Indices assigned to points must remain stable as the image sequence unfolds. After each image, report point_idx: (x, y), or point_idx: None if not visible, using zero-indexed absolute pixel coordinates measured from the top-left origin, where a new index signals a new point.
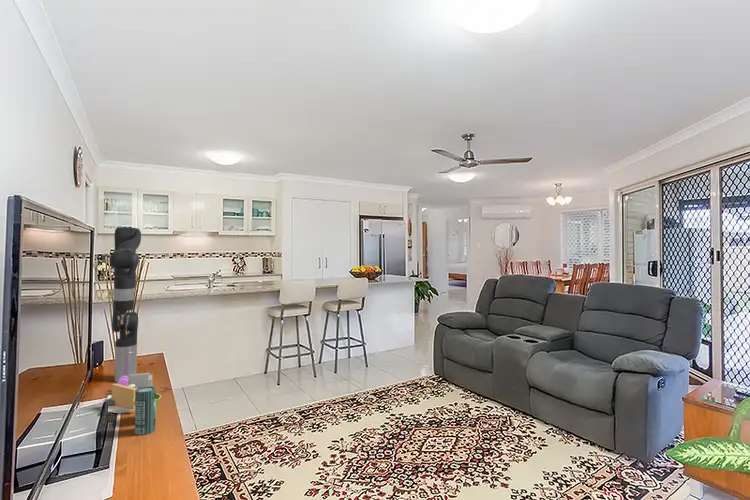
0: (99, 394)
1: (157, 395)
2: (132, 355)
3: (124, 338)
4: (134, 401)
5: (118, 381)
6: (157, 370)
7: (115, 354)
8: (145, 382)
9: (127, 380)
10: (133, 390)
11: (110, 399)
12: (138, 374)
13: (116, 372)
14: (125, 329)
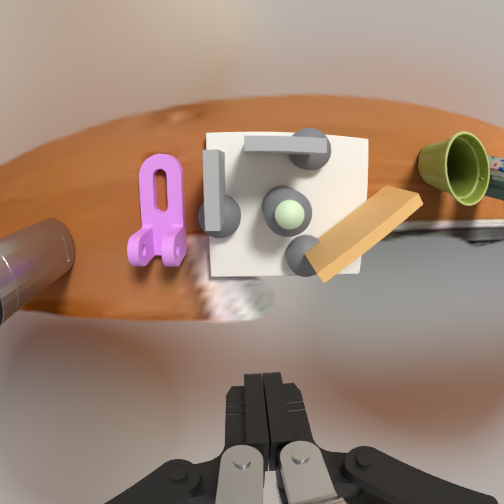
0: (163, 299)
1: (454, 138)
2: (12, 253)
3: (281, 382)
4: (477, 201)
5: (176, 265)
6: (4, 173)
7: (16, 311)
8: (222, 165)
9: (142, 236)
10: (420, 204)
11: (303, 265)
12: (215, 196)
13: (54, 280)
14: (377, 451)
